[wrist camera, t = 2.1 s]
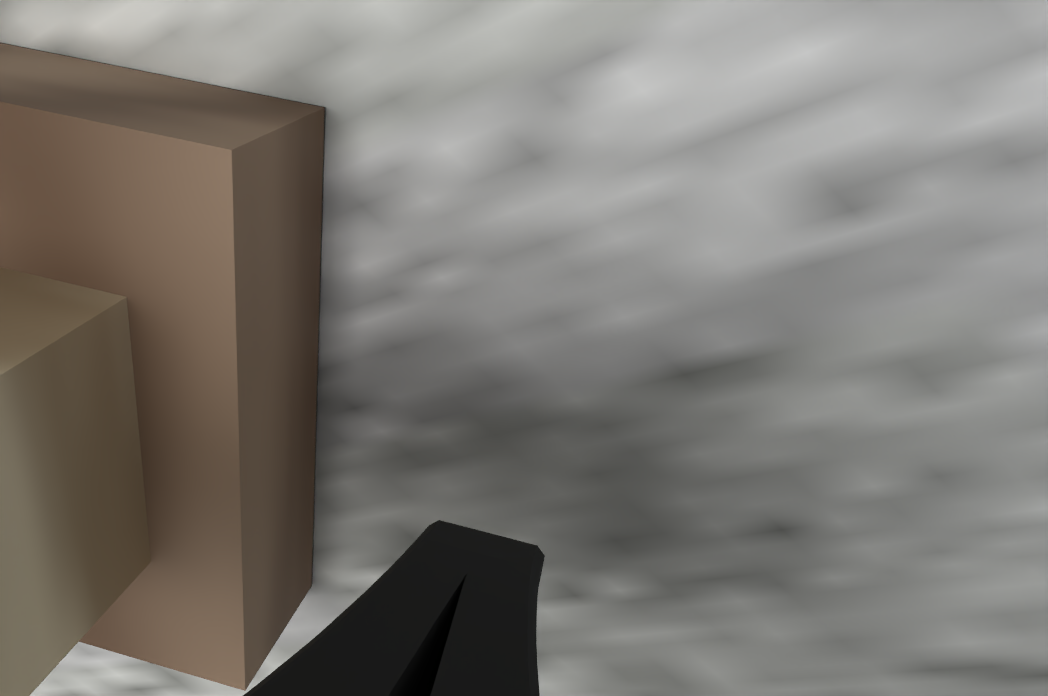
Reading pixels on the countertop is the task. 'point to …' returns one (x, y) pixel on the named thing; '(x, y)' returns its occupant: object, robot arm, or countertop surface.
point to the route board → (187, 328)
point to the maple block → (64, 470)
